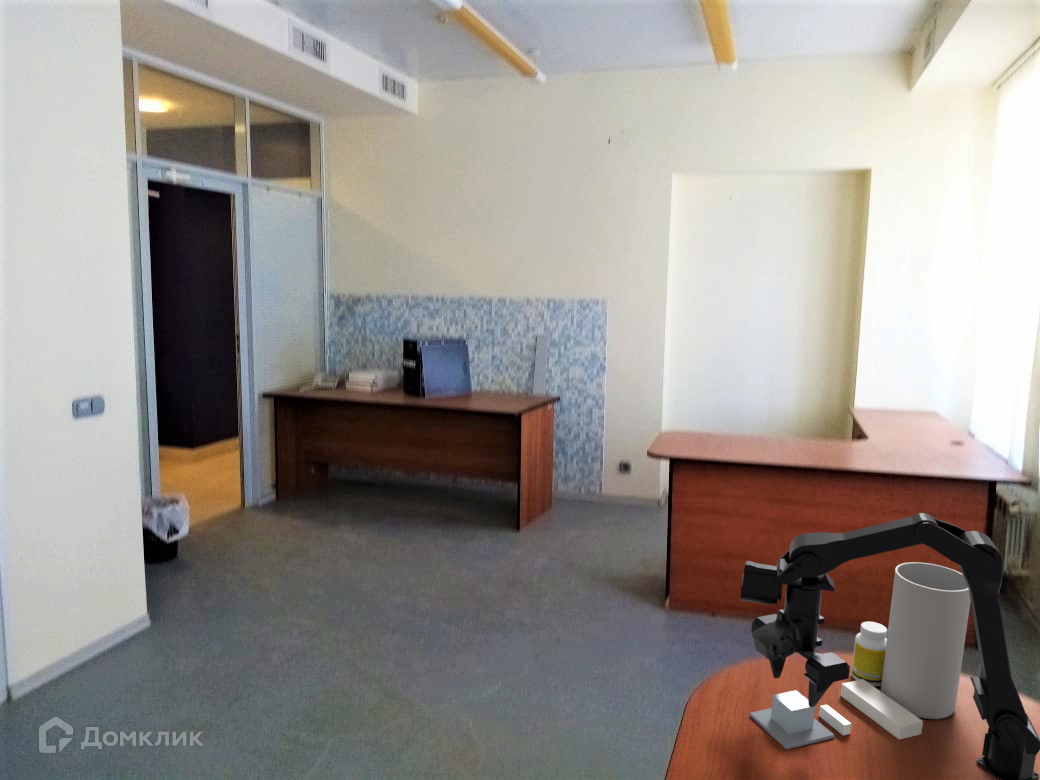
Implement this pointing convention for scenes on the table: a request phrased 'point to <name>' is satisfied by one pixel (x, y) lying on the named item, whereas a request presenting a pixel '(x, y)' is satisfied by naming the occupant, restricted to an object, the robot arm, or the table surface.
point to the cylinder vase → (926, 639)
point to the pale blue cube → (792, 712)
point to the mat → (793, 739)
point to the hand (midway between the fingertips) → (793, 691)
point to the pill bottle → (869, 653)
